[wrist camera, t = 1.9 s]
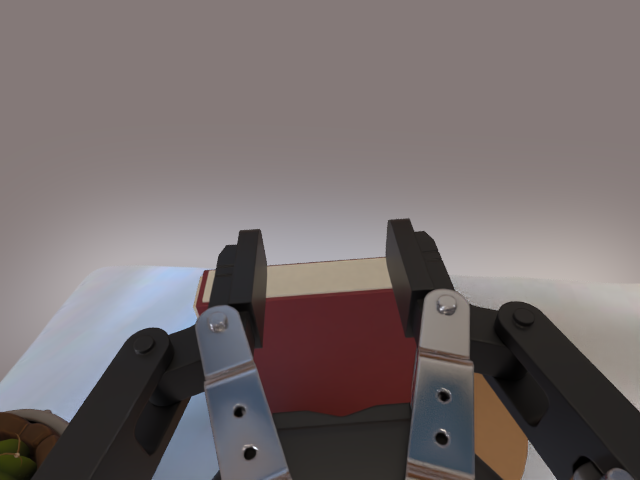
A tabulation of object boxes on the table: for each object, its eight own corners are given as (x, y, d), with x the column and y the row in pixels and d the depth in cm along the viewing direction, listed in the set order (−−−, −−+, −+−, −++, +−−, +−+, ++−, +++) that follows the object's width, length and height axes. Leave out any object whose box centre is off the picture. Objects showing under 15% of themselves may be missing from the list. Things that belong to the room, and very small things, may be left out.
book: (473, 308, 43) (512, 171, 32) (576, 538, 27) (714, 419, 17) (251, 325, 42) (218, 193, 32) (228, 565, 27) (149, 463, 17)
